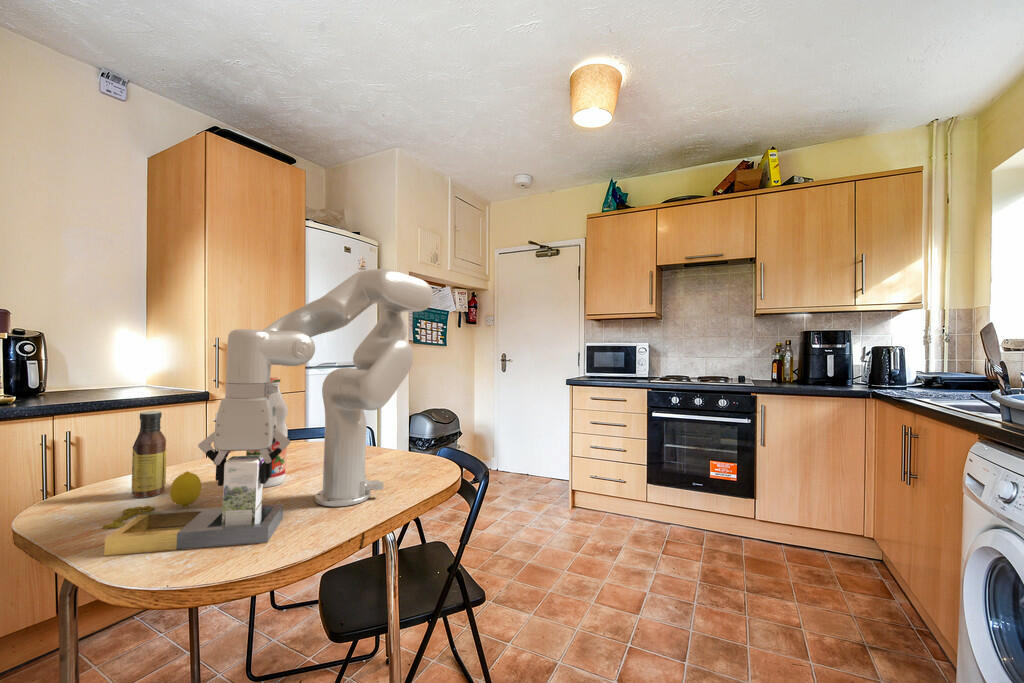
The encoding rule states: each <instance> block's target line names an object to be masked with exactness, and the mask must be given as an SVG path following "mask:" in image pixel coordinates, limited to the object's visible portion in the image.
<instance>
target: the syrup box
mask: <svg viewBox="0 0 1024 683" xmlns="http://www.w3.org/2000/svg"><path fill="white" fill-rule="evenodd" d="M263 460H264V459H263V457H262V455H251V456H246V455H234V456H233V455H232V456H231V457H229V458H228V459H227V460H226V462H225V464H224V485H223V488H222V489H223V491H222V492H223V493H222V508H223V510H222V526H236V525H250V524H262V522H261V508H262V505H263V488H262V487H263V484H261V483H260V480H261V464H262V463H263Z"/></svg>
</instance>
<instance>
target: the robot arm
mask: <svg viewBox="0 0 1024 683" xmlns="http://www.w3.org/2000/svg"><path fill="white" fill-rule="evenodd" d="M433 300H434V293H433V289H432V287H431V286H430V284H429V283H428V282H427V281H425V280H423V279H421V278H419V277H415V276H413V275H410V274H407V273H403V272H401V271H397V270H394V269H391V268H375V269H365V270H360V271H358V272H355V273H354V274H352V275H351V276H349V277H348V278H347V279H345V280H344V281H342V282H340V284H338V285H337V286H335V287H334V288H332V289H331V290H330V291H328V292H327V293H326V294H324V295H322V296H321V297H319V298H317V299H315V300H312V301H310V302H309V303H307V304H305V305H303V306H301V307H299V308H296V309H295V310H293V311H290V312H289V313H287V314H284V315H283V316H282V317H280V318H278V319H277V320H275V321H273V322H272V323H271V324H268V326H266V327H265V328H264V329H249V328H248V329H245V328H244V329H243V328H239V329H238V328H237V329H233V330H231V331H230V332H229V334H228V336H227V345H226V348H227V352H226V367H225V368H226V370H225V371H226V374H225V390H224V391H225V392H224V393H225V394H224V398H222V399H220V403H219V406H218V410H217V415H216V420H215V426H214V431H213V432H212V433H211V434H209V435H208V436H207V437H205V439H203V440H201V442H200V443H198V445H197V447H198V448H199V449H200V451H202V452H203V453H204V454H205V456H206V457H207V458H208V459H209V460H211V461H212V462H213V465H215V481H217V486H218V487H222V486H224V464H225V462H226V461H227V460H228V459H227V458H228V456H229V454H230V453H231V452H241V451H242V452H244V451H245V452H246V451H249V450H259V451H260V453H261V455H262V457H263V459H264V460H263V463H262V464H261V480H260V483H261V484H265V483H266V482H267V481H268V479H269V478H271V475H272V460H273V459H274V458H276V457H277V456H278V455H279V454H280V453H281V452H282V451H283V450H284V449H285V448H286V447H287V448H288V446H289V445H290V444H291V440H290V439H289V438H288V437H287V438H286V437H285V436H284V435H283V434H282V433H280V432H279V431H278V430H277V416H276V406H275V400H274V398H270V395H271V393H277V392H278V386H272V385H271V383H270V377H271V376H272V375H271V372H272V369H271V368H272V365H273V366H282V367H298V366H302V365H305V364H307V363H308V362H310V360H312V358H313V357H314V356H315V353H316V344H315V341H314V339H312V337H315V336H318V335H322V334H326V333H330V332H334V331H336V330H339V329H341V328H344V327H346V326H347V325H349V324H350V323H352V322H353V321H354V320H355V319H356V318H357V317H358V316H360V315H361V314H362V313H364V311H366V310H367V309H368V308H370V307H371V306H372V305H374V304H377V306H378V314H379V315H378V321H377V323H376V324H375V326H374V327H373V328H372V330H371V331H370V332H369V333H368V334H367V335H366V336H365V338H364V339H363V340H362V341H361V343H360V344H359V345H358V346H357V348H356V350H355V351H354V353H353V357H352V362H353V365H354V366H355V368H351V367H350V368H349V367H342V368H338V369H335V370H332V371H330V372H329V373H328V374H327V375H326V376H325V378H324V380H323V382H322V387H321V396H322V401H323V407H324V420H325V421H324V446H323V448H324V449H323V469H322V471H323V472H322V473H323V474H322V490H319V491H318V492H316V494H315V495H314V501H315V503H317V504H318V505H321V506H325V507H347V506H353V505H357V504H361V503H362V502H365V501H367V500H368V499H369V498H370V497H371V495H372V494H371V493H372V492H371V491H372V490H373V491H381V490H384V481H379V479H373V480H369V479H367V474H366V449H367V426H368V423H367V420H366V419H367V418H366V414H365V411H376V410H379V409H381V408H383V407H384V406H385V405H386V404H388V402H389V401H390V400H391V399H392V397H393V396H394V394H395V393H396V391H397V389H398V388H399V387H400V386H401V384H402V383H403V381H404V380H405V379H406V377H407V376H408V374H409V372H410V371H411V369H412V366H413V362H414V351H413V348H412V346H411V344H410V343H409V342H408V341H407V340H406V337H407V335H408V327H407V322H406V318H405V314H404V313H408V312H409V313H410V312H412V313H413V312H423V311H426V310H427V309H429V307H431V305H432V303H433V302H434V301H433ZM276 440H277V441H278V442H279V443H280V445H279V446H278V447H277V448H276V449H275V450H274V451H273V452H272V449H271V445H273V444H275V443H276ZM212 443H213V446H212ZM213 447H214V448H213Z"/></svg>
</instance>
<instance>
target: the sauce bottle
mask: <svg viewBox="0 0 1024 683" xmlns="http://www.w3.org/2000/svg"><path fill="white" fill-rule="evenodd" d="M162 415H163V413H162V411H161V410H150V411H149V410H148V411H142V412H140V413H139V421H140V424H139V426H140V427H139V432H138V434H137V437H136V439H135V441H134V444H132V445H133V446H132V458H131V460H132V463H131V464H132V467H131V468H132V469H131V492H132V496H133V497H134V498H152V497H155V496H159V495H161V494H163V493H164V492H165V490H166V489H165V488H166V487H165V486H166V485H167V484H166V482H167V481H166V480H167V479H166V478H167V439H166V436H165V435H164V433H163V432H162V430H161V428H162V427H161V419H162Z"/></svg>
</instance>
